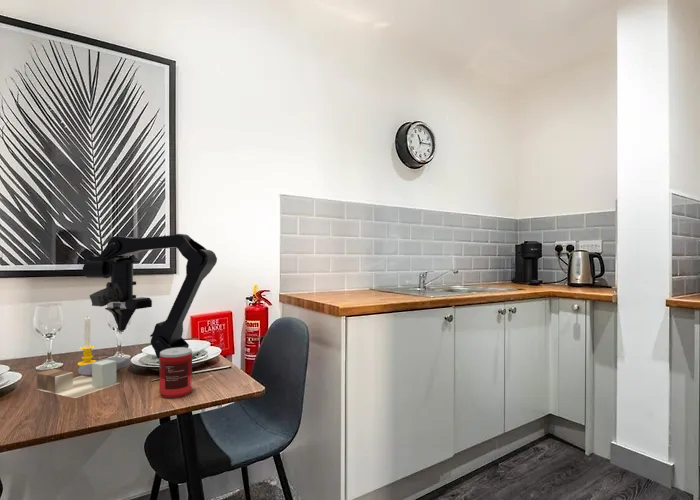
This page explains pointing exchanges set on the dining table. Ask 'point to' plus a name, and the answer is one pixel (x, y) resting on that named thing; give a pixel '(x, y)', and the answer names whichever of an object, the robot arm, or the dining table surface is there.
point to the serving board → (80, 387)
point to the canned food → (175, 372)
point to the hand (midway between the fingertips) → (121, 330)
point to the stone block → (88, 367)
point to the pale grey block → (104, 373)
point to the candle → (87, 345)
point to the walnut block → (55, 380)
